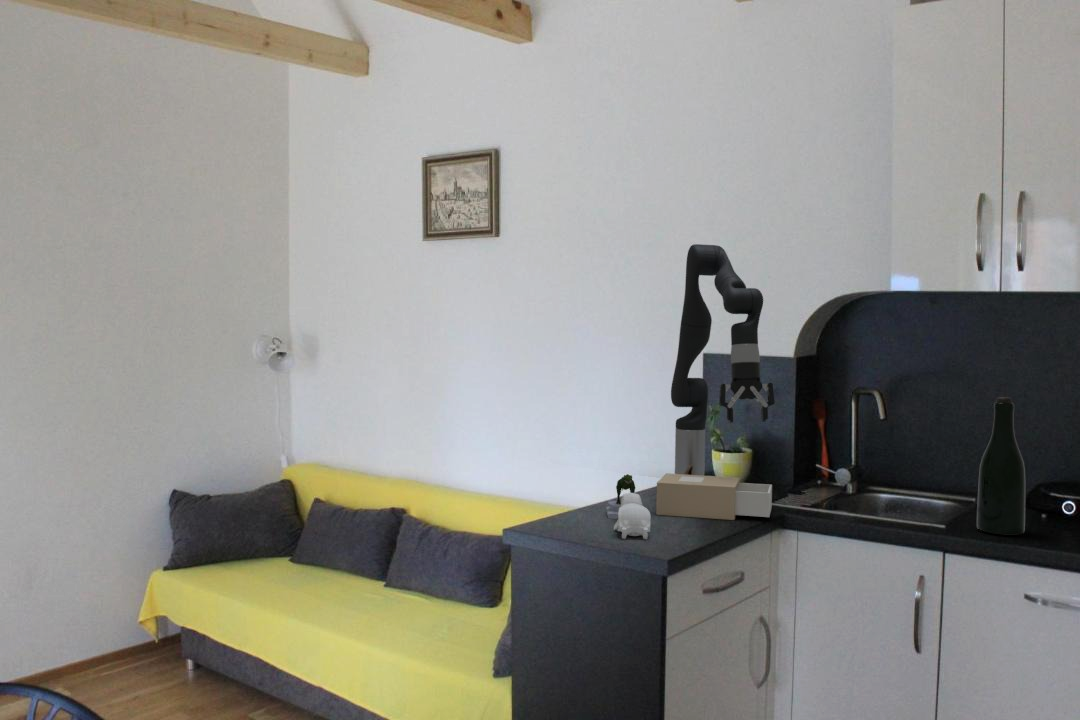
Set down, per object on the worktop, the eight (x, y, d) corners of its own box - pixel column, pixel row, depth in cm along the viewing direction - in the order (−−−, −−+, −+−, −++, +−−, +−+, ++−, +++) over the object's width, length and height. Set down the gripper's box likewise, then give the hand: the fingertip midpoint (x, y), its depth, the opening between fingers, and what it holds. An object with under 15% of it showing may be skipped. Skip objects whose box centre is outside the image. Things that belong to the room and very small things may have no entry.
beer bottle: (987, 525, 230) (991, 394, 229) (1031, 533, 223) (1036, 397, 221) (968, 531, 224) (972, 396, 223) (1013, 539, 216) (1017, 399, 215)
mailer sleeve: (665, 503, 254) (666, 473, 254) (739, 508, 249) (739, 477, 248) (656, 514, 239) (656, 482, 239) (734, 520, 233) (735, 486, 233)
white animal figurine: (652, 551, 212) (646, 515, 226) (654, 520, 209) (648, 485, 223) (615, 550, 212) (612, 514, 226) (616, 519, 209) (613, 485, 223)
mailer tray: (699, 502, 250) (699, 480, 250) (771, 507, 245) (772, 484, 245) (693, 512, 237) (693, 488, 237) (769, 517, 232) (769, 493, 232)
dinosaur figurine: (609, 522, 229) (610, 475, 229) (604, 506, 249) (605, 463, 249) (646, 522, 229) (647, 476, 229) (638, 507, 249) (639, 464, 249)
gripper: (769, 362, 249) (771, 421, 248) (716, 363, 250) (718, 422, 249) (774, 360, 242) (777, 421, 241) (720, 361, 243) (722, 422, 241)
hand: (747, 422), depth 245 cm, fingers open, 8 cm apart
